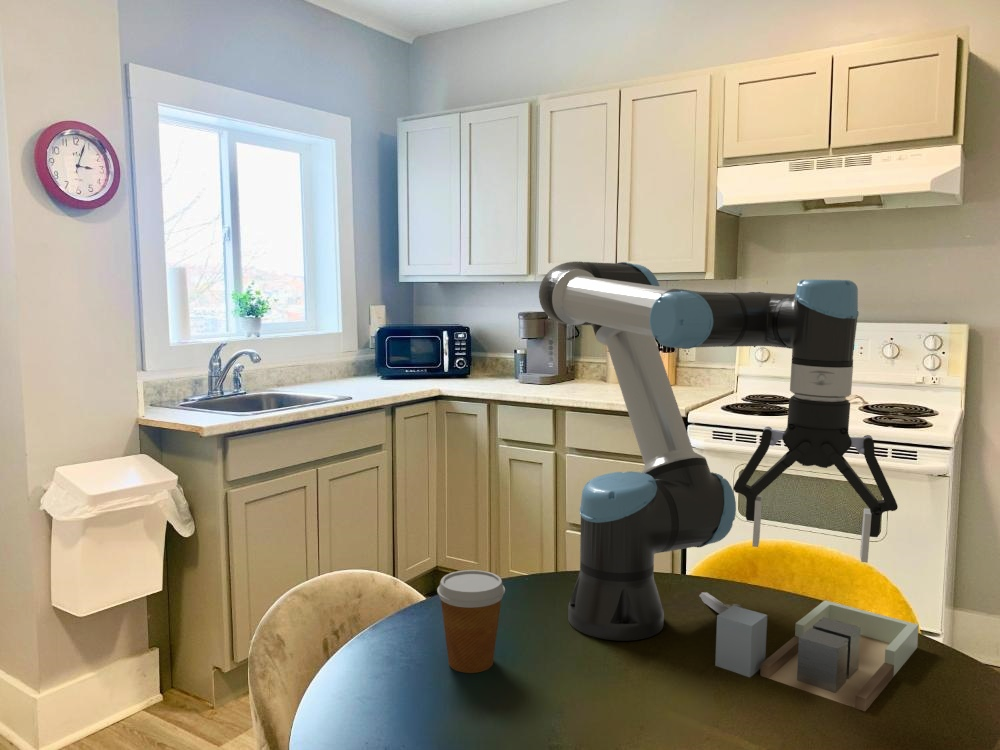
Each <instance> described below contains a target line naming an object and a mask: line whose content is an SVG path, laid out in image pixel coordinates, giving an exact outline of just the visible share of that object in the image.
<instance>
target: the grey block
mask: <svg viewBox="0 0 1000 750" xmlns="http://www.w3.org/2000/svg"><path fill="white" fill-rule="evenodd" d="M730 606H731V607H730V608H728V609H727V610H725V611H724V612H722V613H720V614H719V613H718V614H717V615H716V635H715V662H714V663H715V664H714V666H715V667H718V668H721V669H724V670H726V671H730V672H733V673H736V674H738V675H741V676H744V677H747V678H751V677H753V676H754V675H755V674H757V672H759V670H760V669H761V663H762V662H764V661H765V660H766V659H767V658H766V656H767V653H766V651H767V631H768V628H767V627H768V614H765V613H762V612H758V611H754V610H751V609H747V608H743V607H742V606H741V607H737V606H734V605H733V606H732V605H730Z"/></svg>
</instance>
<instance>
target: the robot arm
mask: <svg viewBox="0 0 1000 750" xmlns="http://www.w3.org/2000/svg"><path fill="white" fill-rule="evenodd" d="M656 277H657V276H655V274H654V273H653V272H652V271H651V270H650V269H649V268H647V267H646V266H644V265H641V264H636V263H634V264H633V263H630V262H627V261H622V262H615V263H613V262H595V261H594V262H590V261H569V262H563V263H560V264H559V265H556V266H555V267H552V269H550V270H548V272H547V273H546V274H545V275H544V277H543V278H542V281H541V283H540V285H539V291H538V299H539V303H540V306H541V309H542V310H543V312H544V313H545V314H546V316H547V317H549V318H550V319H551V320H552V321H554V322H557V323H560V324H563V325H569V326H591V327H592V329H593V333H594V336H595V339H596V341H597V342H598V343H600V344H602V345H604V346H605V347H606V346H607V349H608V353H609V356H610V359H611V362H612V366H613V369H614V372H615V375H616V378H617V382H618V384H619V388H620V391H621V394H622V397H623V401H624V404H625V407H626V410H627V413H628V416H629V417H628V418H629V420H630V423H631V425H632V429H633V432H634V435H635V439H636V442H637V445H638V448H639V452H640V455H641V458H642V461H643V464H644V468H643V469H642V472H640V471H626V472H622V471H616V472H610V473H604V474H601V475H598V476H596V477H593V478H591V479H590V480H589V481H587V482H586V484H585V485H584V486H583V488H582V493H581V500H580V506H579V514H580V539H579V541H580V546H579V547H580V548H579V549H580V551H579V555H580V557H579V561H580V563H579V564H580V565H579V573H578V577H577V580H576V583H575V585H574V588H573V591H572V593H571V596H570V600H569V603H568V609H567V611H568V612H567V613H568V617H567V618H568V622H569V624H570V625H571V627H573V628H574V629H575V630H577V631H578V632H580V633H582V634H585V635H586V636H590V637H594V638H598V639H602V640H609V641H618V642H621V641H622V642H625V641H626V642H628V641H638V640H643V639H648V638H651V637H653V636H655V635H658V634H659V633H660V632H661V631H662V629H663V627H664V619H665V617H664V615H665V613H664V607H663V605H662V603H661V602H662V601H661V598H660V594H659V591H658V588H657V584H656V581H655V578H654V570H655V569H654V566H655V565H654V561H655V555H656V554H659V553H665V552H666V553H667V552H672V551H678V550H683V549H688V548H689V549H690V548H702V547H705V546H707V545H710V544H711V545H712V544H715V543H718V542H720V541H722V540H723V539H724V538H726V537H727V535H728V534H729V533H730V531H731V530H732V528H733V523H734V521H735V519H736V515H737V513H736V512H737V502H736V496H735V493H736V494H740V495H743V496H744V497H745V499H746V505H745V508H746V509H745V519H746V521H748V522H753V529H752V531H753V532H752V546H751V547H755V548H759V546H760V537H761V522H762V508H763V507H762V506H763V505H762V504H763V496H762V495H760V494H761V493H762V492H763V491H764V490H766V488H768V487H769V486H770V485H771V484H772V483H773V482H775V481H776V479H777V478H779V476H781V475H782V474H783V473H784V472H785V471H786V470H788V468H791V466H793V464H795V462H797V463H799V464H800V465H802V466H804V467H812V466H815V467H819V468H823V469H828V468H829V467H832V466H835V468H836V469H837V471H838V472H840V473H841V474H842V476H843V477H844V478H845V479H846V481H847V482H848V483H849V485H850V486H851V487H852V489H854V491H855V493H856V494H857V495H858V496H859V497H860V498H861V500H862V501H863V502H864V503H865V505H866V506H867V507H868V508H866V507H865V508H863V514H862V526H861V527H862V529H861V539H860V550H859V551H860V552H859V557H860V562H861V563H868V560H869V548H870V538H871V537H873V538H878V537H879V535H880V532H881V531H880V530H881V519H882V514H883V513H885V512H895V511H897V510H898V503H897V500H896V498H895V496H894V494H893V492H892V490H891V488H890V485H889V483H888V481H887V479H886V477H885V473H884V472H883V470H882V468H881V466H880V464H879V462H878V459H877V457H876V455H875V441H874V439H873V437H872V436H871V435H868V434H866V435H863V437H861V436H860V437H859V436H857V437H854V436H853V437H851V436H850V434H849V425H850V412H851V410H850V409H851V402H850V401H849V400H848V399H847V398H848V397H851V395H852V389H853V388H852V385H853V373H854V371H853V370H854V350H855V342H856V341H855V340H856V332H857V325H858V317H859V310H858V309H859V308H858V307H859V302H858V299H859V297H858V295H859V289H858V285H857V284H856V283H855V282H854V281H852V280H848V279H801V280H799V281H798V282H797V285H796V291H795V293H792V294H791V293H790V294H789V293H777V292H776V293H775V292H762V291H749V292H726V291H725V292H715V291H714V292H713V291H712V292H711V291H698V290H697V291H695V290H688V289H681V288H680V289H679V288H674V287H667V286H666V287H664V286H660V283H659V281H658V278H656ZM656 340H657V341H658V344H660V345H661V346H664V347H667V348H676V349H684V350H690V349H693V348H715V347H716V348H717V347H723V348H727V347H728V348H729V347H731V348H732V347H733V348H734V347H772V348H782V349H783V348H785V349H792V351H791V364H790V365H791V366H790V383H789V391H790V392H791V393H792V394H793V395H792V396H790V398H788V410H787V411H788V412H787V426H786V429H785V430H784V431H782V430H776V429H772V427H770V426H765V427H764V428H763V431H762V433H761V438H760V439H761V440H760V443H759V445H757V448H756V449H755V451H754V452H753V455H752V456H751V457H750V459H749V460H748V462H747V463H746V465H745V467H744V469H743V470H742V472H741V473H740V474H739V477H738V478H737V480H736V481H735V483H734V485H733V487H732V485H731V483H729V481H728V480H727V479H726V478H724V476H723V475H722V474H719V473H716V472H713V471H712V472H711V469H710V467H709V464H708V461H707V459H706V457H705V456H703V455H701V454H699V453H697V452H696V451H694V449H693V446H692V442H691V440H690V438H689V434H688V432H687V428H686V425H685V423H684V420H683V418H682V414H681V410H680V408H679V405H678V402H677V399H676V396H675V394H674V391H673V388H672V385H671V383H670V379H669V375H668V374H667V370H666V368H665V367H666V366H665V364H664V362H663V359H662V355H661V352H660V350H659V347H658V344H657V341H656ZM779 441H782V442H783V443H784V445H785V447H786V448H787V450H788V451H787V452H786V453H784V454H783V455H782V457H780V459H779V460H778V461H776V463H775V464H774V465H772V466H771V467H770V468H769V469H767V471H766V472H764V474H762V475H761V476H759V478H758V479H757V480H756V481H755V482H754V483H753V484H751V485H749V484H748V482H749V481H750V479H751V478H752V476H753V475H754V473H755V472H756V470H757V468H758V466H759V465H760V463H761V462H762V461H763V459H764V458H765V456H766V454H767V452H768V450H769V448H770V446H772V447H773V446H775V445H777V443H778V442H779ZM851 447H854V448H855V449H856V450H857V453H858V454H860V455H864V459H865V462H866V464H867V466H868V468H869V470H870V472H871V475H872V477H873V479H874V481H875V484H876V485H877V488H878V490H879V492H880V495H881V496H882V498H883V499H881V500H878V499H877V498H876V496H875V495H874V494H873V492H872V491H871V490H870V489H869V487H868V486H867V485H866V484H865V482H863V479H862V478H860V476H859V475H858V474H857V472H855V470H854V469H853V468H852V466H851V465H850V464H849V462H848V461H847V459H846V458H845V457H844V454H846V453H847V451H849V450H850V448H851Z"/></svg>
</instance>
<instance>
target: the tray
mask: <svg viewBox="0 0 1000 750" xmlns="http://www.w3.org/2000/svg"><path fill="white" fill-rule="evenodd" d="M823 617H825V618H829V619H833V620H836V621H840V622H844V623H847V624H851V625H855V626H858V627H860V635H862V636H866V637H869V638H873V639H877V640H880V641H884V642H887V643H890V644H889V645H888V647H887V648H886V649H885V663H888V664H892V665H894V675H895V676H896V675H897V673H898V672H899V671H900V670H901V668H902V667H903V666H904V665H905V663H907V661H908V660H909V659H910V657H911V656H912V655H913V654H914V652H916V650H917V649H918V641H919V624H917V623H913V622H909V621H906V620H902V619H899V618H895V617H891V616H887V615H883V614H880V613H876V612H872V611H869V610H868V611H867V610H863V609H860V608H856V607H852V606H847V605H844V604H841V603H837V602H833V601H829V600H825V599H824V600H823V601H822V602H821V603H820V604H818V605H817V606H816V607H814V608H813V609H812V610H811V611H810V612H808V613H807V614H806V615H804V616H803V617H802V618H800V619H799V620H798V621H796V622H795V625H794V626H795V628H794V632H795V633H794V636H797V637H800V636H801V635H802V634H803V633H804V632H806V631H807V630H808V629H809V628H812V629H813V625H814V624H815V623H817V622H818V621H819V620H820V619H821V618H823ZM916 648H917V649H916ZM912 653H913V654H912ZM908 658H909V659H908ZM907 659H908V660H907ZM903 664H904V665H903ZM899 669H900V670H899ZM898 670H899V671H898ZM895 676H893V678H894V677H895Z"/></svg>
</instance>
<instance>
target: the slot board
mask: <svg viewBox="0 0 1000 750" xmlns="http://www.w3.org/2000/svg"><path fill="white" fill-rule="evenodd" d="M889 644H890V643H887V642H884V641H880V640H877V639H873V638H869V637H866V636H862V635H860V646H859V665H858V670H857V671H856V672H855V673H854V674H853V675H852V676H851V677H850V678H849V679H846V683H845V684H844V685H843V686H842V687H841V688H840V689H839V690H838V691H837V692H836V693H833V692H830V691H827V690H824V689H821V688H818V687H815V686H812V685H809V684H806V683H803V682H800V681H797V668H798V646H799V637H797V636H795V635H794V636H793V637H792V638H790V639H789V640H788V641H787V642H785V643H784V644H783V645H782V646H781V647H780V648H778V649H777V650H776V651H775V652H773V653H772V654H771V655H770V656H768V657H767V658H765V661H764V662H762V663H761V669H760V674H759V675H760V676H761V677H763V678H767V679H770V680H773V681H775V682H778V683H781V684H784V685H787V686H788V687H789V686H790V687H793V688H795V689H799V690H801V691H804V692H807V693H810V694H812V695H816V696H820V697H822V698H825V699H828V700H830V701H833V702H837V703H840V704H842V705H845V706H848V707H850V708H853V709H857V710H860V711H863V712H866V711H867V710H868V708H870V706H871V705H872V704H873V702H875V700H876V699H877V698H878V697H879V695H880V694H881V693H882V691H884V689H885V688H886V687H887V686H888V684H889V683H890V682H891V681H892V679H893V678H894V677H895V676H896V674H895V675H894V665H892V664H888V663H885V649H886V648H887V647H888V645H889ZM917 649H918V647H917V648H916V650H917ZM913 654H914V652H913V653H912V655H913ZM909 659H910V657H909V658H908V659H907V661H908V660H909ZM904 665H905V663H904V664H903V666H904ZM900 670H901V668H900V669H899V670H898V672H899V671H900ZM893 676H894V677H893Z"/></svg>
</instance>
